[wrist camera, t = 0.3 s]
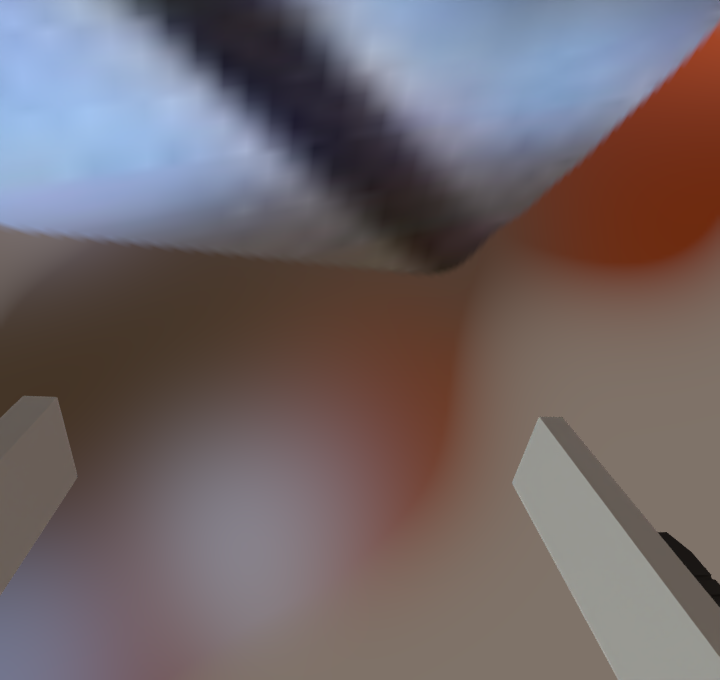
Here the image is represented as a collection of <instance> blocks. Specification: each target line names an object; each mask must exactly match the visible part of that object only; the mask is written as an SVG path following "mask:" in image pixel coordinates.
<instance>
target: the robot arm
mask: <svg viewBox="0 0 720 680" xmlns="http://www.w3.org/2000/svg"><path fill="white" fill-rule="evenodd" d="M77 477H78V476H77V473H76V469H75V465H74V461H73V457H72V453H71V449H70V446H69V442H68V438H67V434H66V430H65V426H64V422H63V419H62V414H61V411H60V407H59V403H58V399H57V397H40V396H23V397H22V398H21V399H20V400H19V401H18V402H17V403H15V405H13V407H11V408H10V409H9V410H8V411H7V412H6V413H5V414H4V415H3V416H2V417H1V418H0V595H1V594H2V592H3V591H4V589H5V587H6V586H7V584H8V583H9V581H10V580H11V578H12V577H13V575H14V574H15V572H16V571H17V569H18V568H19V566H20V564H21V563H22V561H23V560H24V558H25V557H26V555H27V554H28V552H29V551H30V549H31V547H32V546H33V545H34V543H35V541H36V540H37V538H38V537H39V535H40V534H41V532H42V530H43V529H44V528H45V526H46V525H47V523H48V521H49V520H50V518H51V517H52V515H53V514H54V512H55V511H56V509H57V508H58V506H59V505H60V503H61V502H62V500H63V498H64V497H65V495H66V494H67V492H68V491H69V489H70V488H71V486H72V485H73V483H74V482H75V480H76V479H77ZM512 484H513V486H514V488H515V490H516V492H517V493H518V495H519V497H520V499H521V501H522V503H523V505H524V506H525V508H526V510H527V512H528V514H529V516H530V517H531V519H532V521H533V523H534V525H535V527H536V528H537V531H538V532H539V534H540V536H541V538H542V540H543V541H544V543H545V545H546V547H547V549H548V551H549V553H550V554H551V556H552V558H553V560H554V562H555V564H556V566H557V567H558V569H559V571H560V573H561V575H562V577H563V579H564V580H565V582H566V584H567V586H568V588H569V590H570V592H571V593H572V595H573V597H574V599H575V601H576V603H577V604H578V606H579V608H580V610H581V612H582V614H583V616H584V617H585V619H586V621H587V623H588V625H589V626H590V629H591V630H592V632H593V634H594V636H595V638H596V640H597V642H598V643H599V645H600V647H601V649H602V651H603V653H604V654H605V656H606V658H607V660H608V662H609V664H610V666H611V667H612V669H613V671H614V673H615V675H616V677H617V679H618V680H720V585H719V583H717V581H716V580H713V579H712V578H711V574H710V573H709V572H708V571H707V570H706V568H705V567H704V566H703V565H702V564H701V563H700V562H699V560H698V559H697V558H696V557H695V556H694V555H693V553H692V552H691V551H689V550H688V549H687V548H686V547H684V546H683V545H682V544H681V543H679V542H678V541H677V540H676V539H674V538H673V537H672V536H671V535H669V534H668V533H667V532H657V531H656V530H655V529H654V527H653V526H652V525H651V524H650V523H649V522H648V520H647V519H646V518H645V517H644V515H643V514H642V513H641V512H640V510H639V509H638V508H637V507H636V506H635V504H634V503H633V502H632V501H631V500H630V498H629V497H628V496H627V495H626V494H625V492H624V491H623V490H622V489H621V487H620V486H619V485H618V484H617V483H616V481H615V480H614V479H613V478H612V477H611V475H610V474H609V473H608V472H607V471H606V469H605V468H604V467H603V466H602V465H601V463H600V462H599V461H598V460H597V458H596V457H595V456H594V455H593V454H592V453H591V451H590V450H589V449H588V448H587V446H586V445H585V444H584V443H583V442H582V440H581V439H580V438H579V437H578V435H577V434H576V433H575V432H574V431H573V429H572V428H571V427H570V426H569V425H568V423H567V422H566V421H565V420H564V419H563V418H562V417H539V418H538V420H537V423H536V426H535V428H534V430H533V433H532V435H531V438H530V440H529V443H528V445H527V447H526V450H525V453H524V455H523V457H522V460H521V462H520V465H519V467H518V470H517V472H516V475H515V477H514V480H513V482H512Z"/></svg>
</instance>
